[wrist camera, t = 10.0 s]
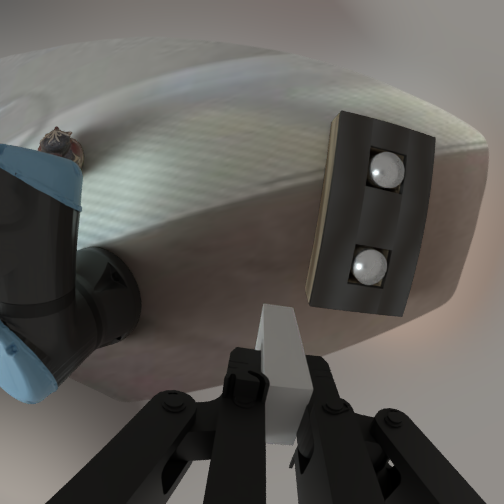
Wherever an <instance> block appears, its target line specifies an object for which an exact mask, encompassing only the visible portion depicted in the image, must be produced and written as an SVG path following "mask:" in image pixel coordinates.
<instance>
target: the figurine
mask: <svg viewBox="0 0 504 504" xmlns="http://www.w3.org/2000/svg"><path fill="white" fill-rule="evenodd" d="M71 134H72V132H64V131H61V130H59V128H58V127H55V129H54V130H53V131H51V132H50V133H48V134H46V135H45V137H44V138H43V139H42V140H41V141H40V146H39V148H38V151H40V152H44V153H48V154H52V155H56V156H59V157H63V158H66V159H69V160H72V161H74V162H75V163H76V164H77V165H78V166H79V167H80V169H81V167H82V165H83V159H84V154H83V150H82V147H81V145H80V144H79V143H78V142H77V141H76V140H75V139H73V138H70V135H71Z"/></svg>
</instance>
